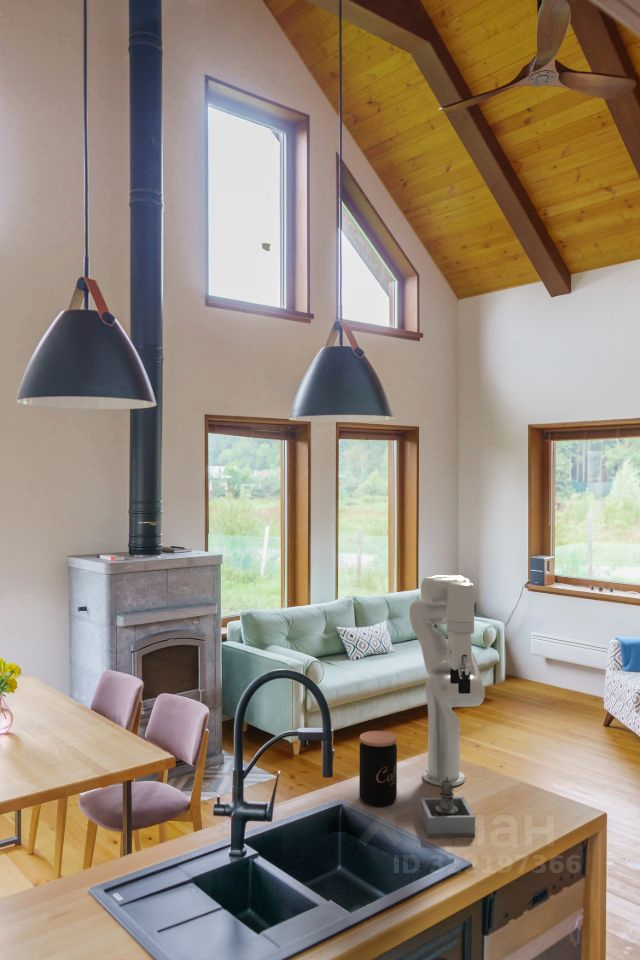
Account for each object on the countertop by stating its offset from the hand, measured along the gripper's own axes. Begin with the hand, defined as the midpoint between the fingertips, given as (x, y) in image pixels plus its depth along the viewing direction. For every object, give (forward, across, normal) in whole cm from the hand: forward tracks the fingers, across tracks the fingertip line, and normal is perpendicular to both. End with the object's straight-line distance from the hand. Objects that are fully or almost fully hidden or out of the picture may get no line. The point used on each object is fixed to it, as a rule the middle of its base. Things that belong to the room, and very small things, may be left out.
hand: (460, 688), depth 213 cm
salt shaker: (+32, +11, -6) cm, 35 cm away
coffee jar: (+34, -6, -22) cm, 41 cm away
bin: (+33, +11, -6) cm, 36 cm away
